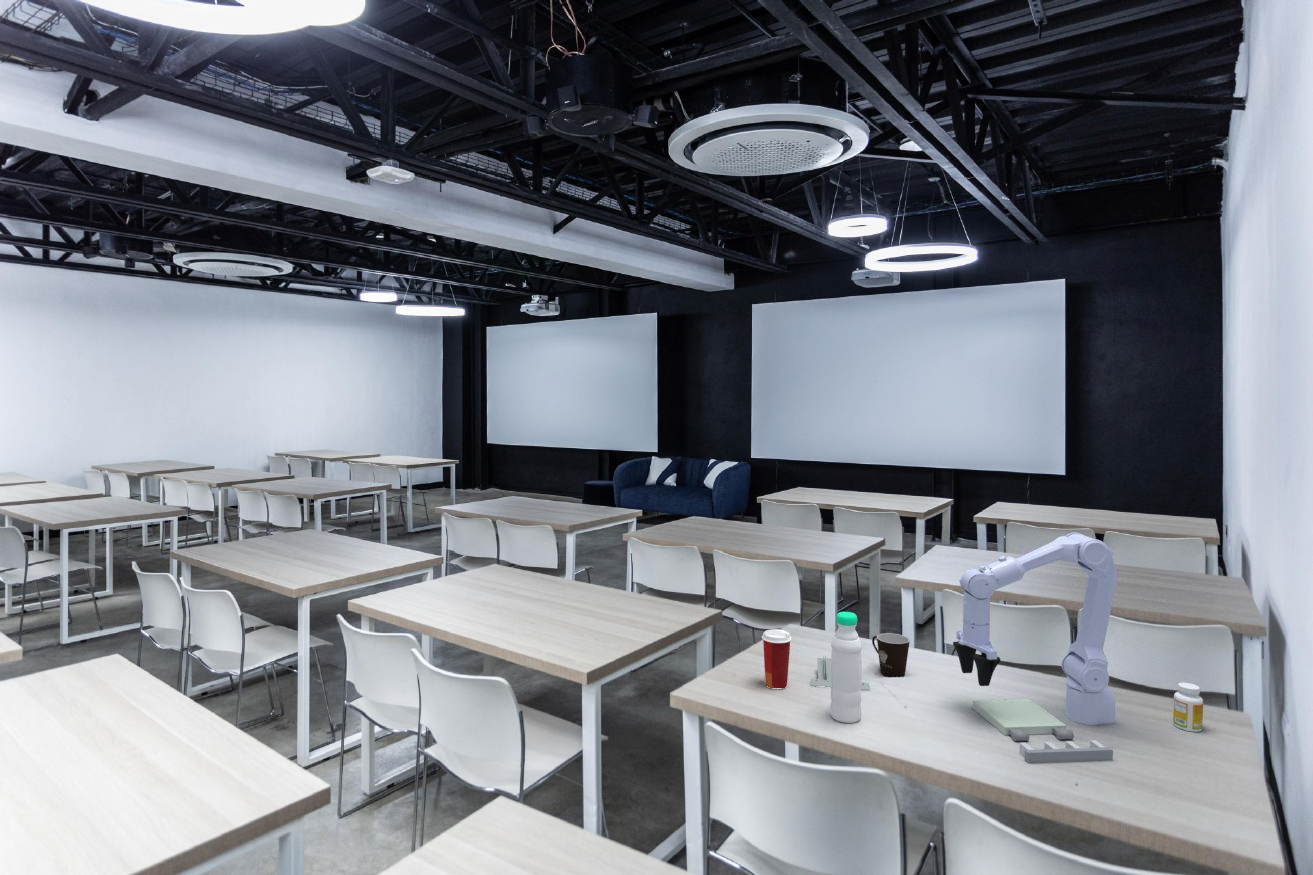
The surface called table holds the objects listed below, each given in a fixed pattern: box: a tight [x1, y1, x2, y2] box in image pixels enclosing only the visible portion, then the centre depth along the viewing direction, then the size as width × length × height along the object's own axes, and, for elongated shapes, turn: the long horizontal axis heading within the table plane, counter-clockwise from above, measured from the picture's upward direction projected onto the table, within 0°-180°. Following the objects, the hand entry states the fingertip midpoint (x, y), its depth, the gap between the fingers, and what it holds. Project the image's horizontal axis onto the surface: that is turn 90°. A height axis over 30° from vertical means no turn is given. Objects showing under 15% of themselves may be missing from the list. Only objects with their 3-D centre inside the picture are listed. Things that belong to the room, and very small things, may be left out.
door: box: [972, 698, 1075, 742], centre depth 161 cm, size 14×17×2 cm
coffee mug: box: [871, 632, 911, 679], centre depth 195 cm, size 12×9×10 cm
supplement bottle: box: [1172, 682, 1204, 733], centre depth 162 cm, size 5×5×10 cm
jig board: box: [1018, 739, 1114, 764], centre depth 157 cm, size 18×26×4 cm
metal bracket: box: [810, 655, 871, 692], centre depth 190 cm, size 14×6×15 cm
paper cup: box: [761, 628, 792, 689], centre depth 186 cm, size 8×8×14 cm
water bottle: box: [829, 611, 863, 724], centre depth 167 cm, size 7×7×25 cm
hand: (975, 678), depth 165 cm, fingers open, 7 cm apart
